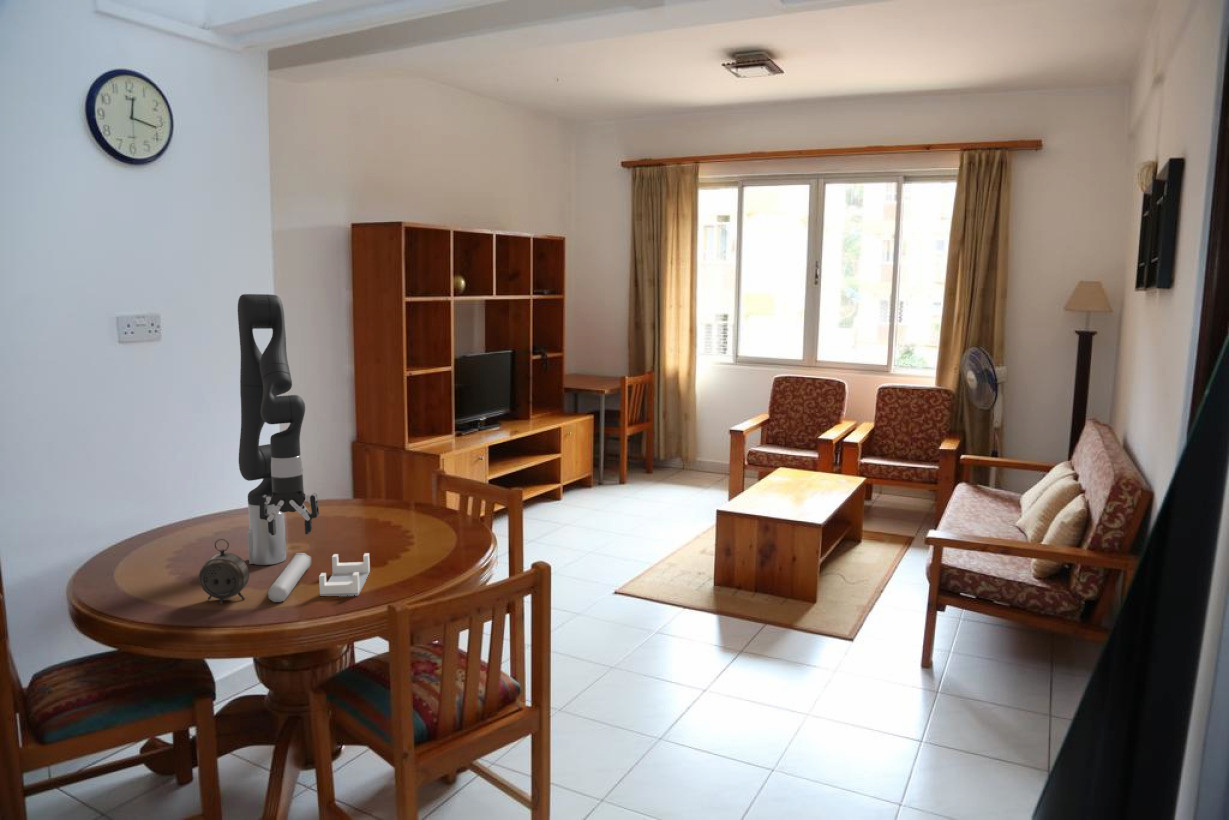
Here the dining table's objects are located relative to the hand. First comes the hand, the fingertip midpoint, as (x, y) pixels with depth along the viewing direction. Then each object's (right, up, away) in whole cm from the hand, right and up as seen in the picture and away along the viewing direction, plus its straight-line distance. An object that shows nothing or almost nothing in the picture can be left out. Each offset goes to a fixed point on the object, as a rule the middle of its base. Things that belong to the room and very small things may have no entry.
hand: (290, 534), depth 225 cm
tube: (-1, -14, +2) cm, 15 cm away
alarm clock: (-13, -16, -8) cm, 22 cm away
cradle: (+13, -14, +4) cm, 19 cm away
